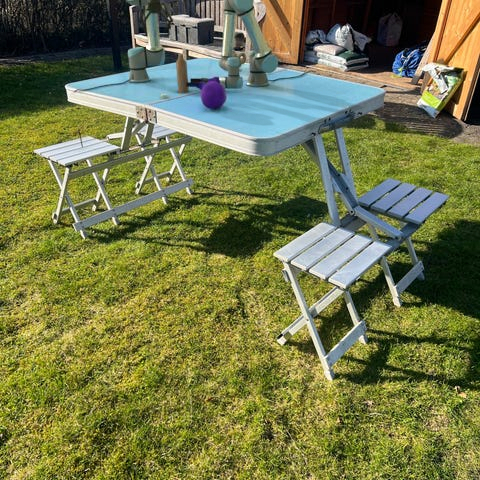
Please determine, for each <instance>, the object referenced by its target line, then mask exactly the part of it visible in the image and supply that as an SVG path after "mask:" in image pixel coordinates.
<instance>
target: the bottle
mask: <svg viewBox="0 0 480 480" xmlns="http://www.w3.org/2000/svg"><path fill="white" fill-rule="evenodd" d="M187 63H188V62H187V61H186V60H185V57H184V54H182V53H179V54H178V58H177V60H176V61H175V68H176V69H175V70H176V81H177V92H178V93H179V94H185V93H186V94H187V93H189V92H190V87H186V82H189V77H188V64H187Z"/></svg>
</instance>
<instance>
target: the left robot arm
mask: <svg viewBox="0 0 480 480" xmlns="http://www.w3.org/2000/svg"><path fill="white" fill-rule="evenodd" d="M125 2H127V3H128V4H130V5H132V6H134V7H141V8H142V11H141V14H140V17H139V21H138V22H139V24H142V30H144V34H145V37H147V44H146V48H144V47H143V46H137V47H132V48H130V49H128V50H127V58H128V64H129V65H128V66H129V76H128V79H127V80H125V81H123V82H118V83H108V84H103V85H99V86H94V87H90V88H86V89H85V88H84V89H81V88H80V89H78V88H77V89H75V90H74V91H73V93H76V92H78V91H79V92H80V91H81V92H82V91H83V92H85V91H89V90H94V89H98V88H103V87H109V86H115V85H117V86H118V85H124V84H125V83H128V82H129V83H133V84H141V83H148V82H150V76H149V74H148V71H147V67H151V66H162V65H164V64H165V61H166V51H165V50H166V49H165V48H164V47H163V45H162V44H161V38H160V37H161V36H160V25H159V24H160V23H159V15H158V14H160V15H161V16H162V18H163V19H164V20H165V21H166V22H167V23H166V26H167V27H166V29H167V36H170V35H171V33H170V30H171V29H172V23H174V19H173V17H172V15H171V13H170V12H169V9H168V6H167V4H164V5H162V0H125ZM162 9H163V10H164V11H165V13H166V14H165V13H164V12H163V11H162ZM144 16H145V17H144ZM77 132H78V136H79V140H80V144H81V148H83V147H84V146H83V141H82V136H81V130H80V129H78V131H77Z"/></svg>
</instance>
